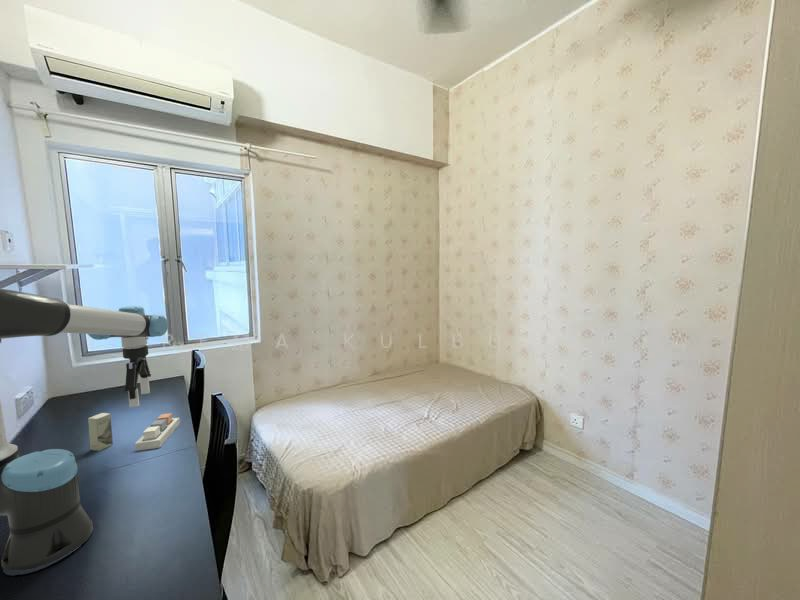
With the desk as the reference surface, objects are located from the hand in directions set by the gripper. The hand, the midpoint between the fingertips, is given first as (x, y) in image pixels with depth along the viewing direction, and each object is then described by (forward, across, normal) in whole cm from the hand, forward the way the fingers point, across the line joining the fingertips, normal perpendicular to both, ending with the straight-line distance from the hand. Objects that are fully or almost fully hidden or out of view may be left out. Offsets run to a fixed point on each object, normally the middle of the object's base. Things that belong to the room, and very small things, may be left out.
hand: (140, 399), depth 124 cm
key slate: (+16, +5, -4) cm, 17 cm away
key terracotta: (+16, +11, -5) cm, 20 cm away
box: (+19, +5, +14) cm, 24 cm away
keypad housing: (+18, +5, -4) cm, 20 cm away
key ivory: (+16, -1, -3) cm, 16 cm away
